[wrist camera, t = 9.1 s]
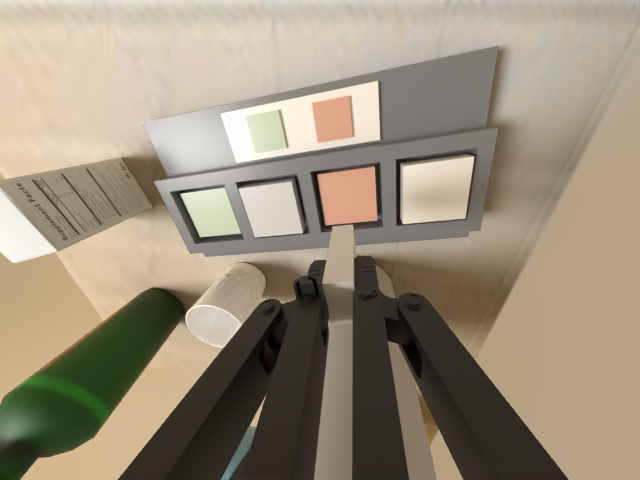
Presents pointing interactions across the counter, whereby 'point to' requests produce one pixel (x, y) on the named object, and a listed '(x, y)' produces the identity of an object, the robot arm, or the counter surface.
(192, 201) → the key sage
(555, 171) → the counter surface
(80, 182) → the supplement box
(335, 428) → the cylinder vase
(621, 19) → the counter surface
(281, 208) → the key grey
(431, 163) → the key white
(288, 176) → the key pad
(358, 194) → the key terracotta
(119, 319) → the bottle
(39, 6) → the counter surface
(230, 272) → the white cup
